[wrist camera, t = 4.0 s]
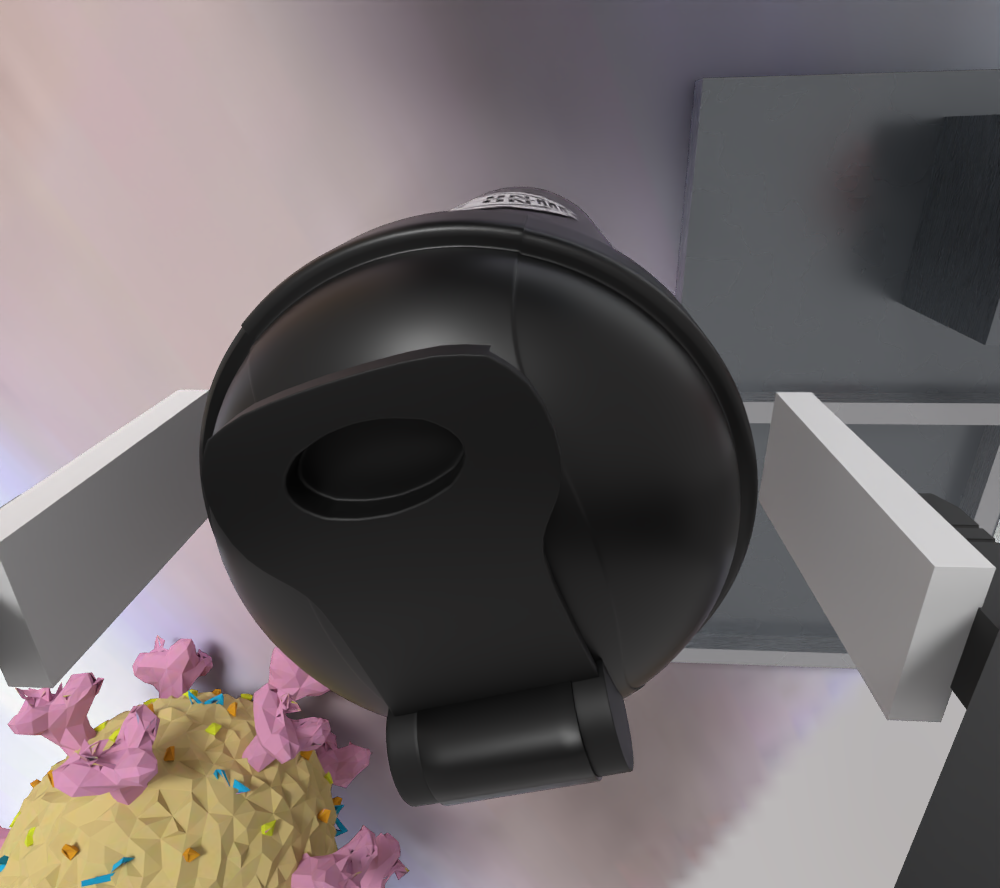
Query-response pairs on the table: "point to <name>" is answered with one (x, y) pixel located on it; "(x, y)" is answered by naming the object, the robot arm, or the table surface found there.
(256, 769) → the educational model
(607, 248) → the water bottle
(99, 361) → the table surface
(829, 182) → the press
